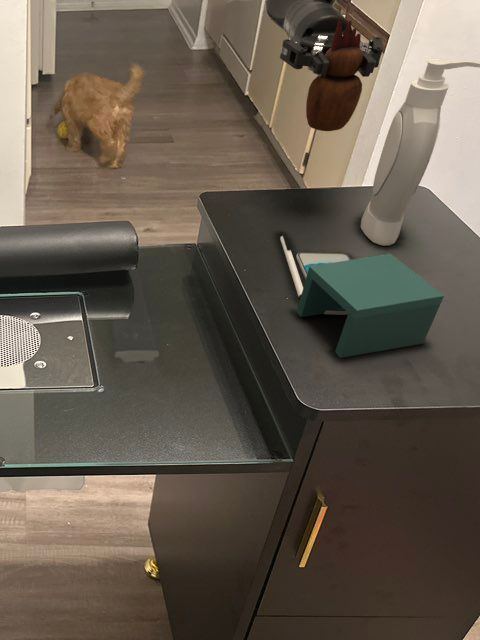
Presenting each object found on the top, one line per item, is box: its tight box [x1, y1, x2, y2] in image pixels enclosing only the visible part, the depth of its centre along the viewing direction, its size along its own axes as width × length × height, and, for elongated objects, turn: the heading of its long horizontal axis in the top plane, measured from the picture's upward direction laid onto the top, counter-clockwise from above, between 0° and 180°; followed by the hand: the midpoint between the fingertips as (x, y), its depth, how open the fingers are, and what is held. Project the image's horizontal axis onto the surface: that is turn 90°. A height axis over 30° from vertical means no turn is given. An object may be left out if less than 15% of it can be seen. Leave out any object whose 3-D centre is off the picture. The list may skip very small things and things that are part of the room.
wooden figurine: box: [305, 18, 363, 132], centre depth 102 cm, size 7×6×15 cm
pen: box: [279, 231, 304, 300], centre depth 102 cm, size 1×19×1 cm, turn 171°
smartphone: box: [295, 251, 351, 316], centre depth 99 cm, size 7×1×15 cm
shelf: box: [296, 253, 445, 359], centre depth 89 cm, size 11×10×7 cm
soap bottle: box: [360, 58, 480, 247], centre depth 101 cm, size 13×8×24 cm, turn 164°
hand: (346, 69), depth 99 cm, fingers closed on wooden figurine, 5 cm apart
